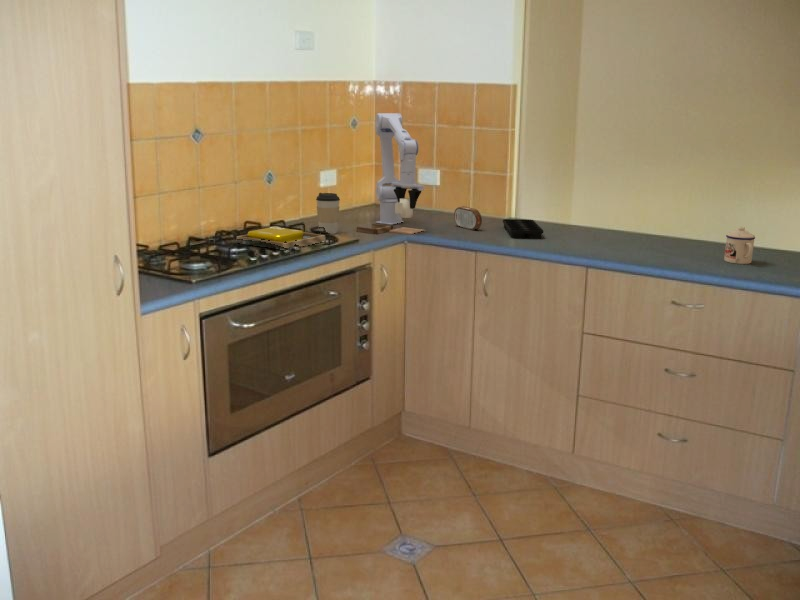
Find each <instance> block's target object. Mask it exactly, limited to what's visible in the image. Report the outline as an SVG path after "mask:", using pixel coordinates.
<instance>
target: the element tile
mask: <svg viewBox="0 0 800 600" xmlns="http://www.w3.org/2000/svg"><path fill="white" fill-rule="evenodd" d="M303 232H304V231H303V230H300V229H293V228H291V229H290V228H286V227H280V226H270V227H265V228H261V229H255V230H254V229H253V230H248V232H247V234H248V238H255V239H265V240H270V241H275V242H281V243H284V242H285V241H286V242H292V241H295V240H301V239H303Z"/></svg>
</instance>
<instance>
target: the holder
mask: <svg viewBox="0 0 800 600" xmlns="http://www.w3.org/2000/svg"><path fill="white" fill-rule="evenodd" d="M393 229H394V226H393V225H388V224H380V223H371V227H365V226H364V227H363V226H356V232H357V233H358V232H359V233H364V234H372V235H377V234H382V233H383V234H384V233H387V232H388V233H389V230H393Z"/></svg>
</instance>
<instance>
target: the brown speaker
mask: <svg viewBox="0 0 800 600" xmlns="http://www.w3.org/2000/svg"><path fill="white" fill-rule="evenodd" d="M453 213H454V214H453V215H454V216H453V218H454V223H455V224H456V226H457V227H459V226H460V227H459V228H461V227H463V229H466V228H467V230H469V229H471V230H470V231H474V230H475V229H477V230H479V229H480V228H481V226H482V223H483V221H482V220H483V219H482V214H481V213H480V210H478V209H476V208H473V207H470V206H469V207H468V206H464V205H462V206H459V207H457V208H455V210H454V212H453ZM475 231H476V230H475Z"/></svg>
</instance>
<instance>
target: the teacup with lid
mask: <svg viewBox="0 0 800 600" xmlns="http://www.w3.org/2000/svg"><path fill="white" fill-rule="evenodd" d="M725 236H726V241H725V249H724V256H723V257H724V258H723V259H724V261H725V262H727V263H729V264H735V265H736V264H738V265H748V264H751V263H752V261H753V260H752V259H753V253H754V246H755V239H756V237H755V234H752V233H750V232H749V231H747V230H746V229H745V227H743V226H739V227H738V228H737V229H735V230H733V231H731V232H728V233H726V235H725Z"/></svg>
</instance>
